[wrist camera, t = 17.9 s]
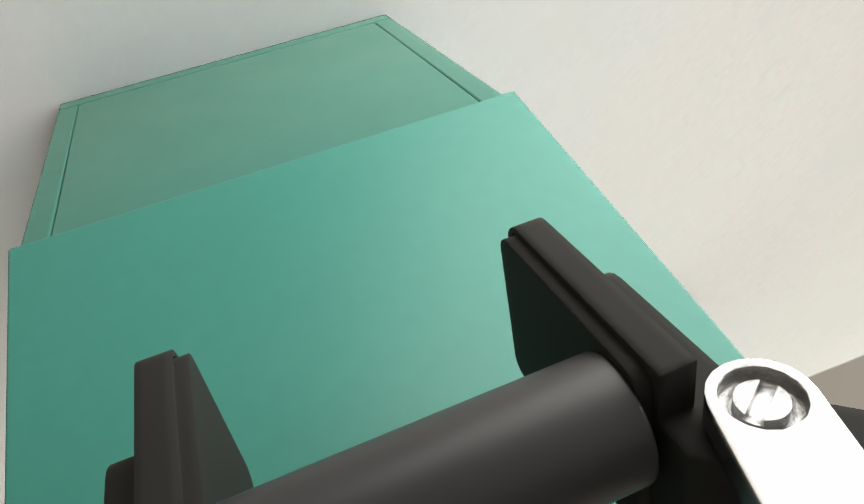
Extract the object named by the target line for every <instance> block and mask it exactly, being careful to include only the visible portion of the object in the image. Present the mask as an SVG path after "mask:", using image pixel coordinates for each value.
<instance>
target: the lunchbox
mask: <svg viewBox="0 0 864 504" xmlns="http://www.w3.org/2000/svg"><path fill="white" fill-rule="evenodd" d="M500 95H502V94H500V93H499V92H497V91H496V90H494V89H493V88H491V87H490V86H489V85H487V84H486V83H484V82H483V81H481V80H480V79H478V78H477V77H475V76H474V75H473V74H471V73H470V72H468V71H467V70H465V69H464V68H462V67H461V66H459V65H458V64H456V63H455V62H454V61H452V60H451V59H449V58H448V57H446V56H445V55H443V54H442V53H440V52H439V51H438V50H436V49H435V48H433V47H432V46H430V45H429V44H427V43H426V42H424V41H423V40H422V39H420V38H419V37H417V36H416V35H414V34H413V33H411V32H410V31H408V30H407V29H406V28H404V27H403V26H401V25H400V24H398V23H397V22H395V21H394V20H392V19H391V18H390V17H388V16H387V15H382V16H379V17H375V18H371V19H368V20H364V21H361V22H357V23H353V24H350V25H346V26H342V27H339V28H335V29H332V30H328V31H324V32H321V33H317V34H314V35H310V36H306V37H303V38H299V39H296V40H292V41H288V42H285V43H281V44H277V45H274V46H270V47H267V48H263V49H259V50H256V51H252V52H249V53H245V54H241V55H238V56H234V57H231V58H227V59H223V60H220V61H216V62H212V63H209V64H205V65H202V66H198V67H194V68H191V69H187V70H184V71H180V72H176V73H173V74H169V75H166V76H162V77H158V78H155V79H151V80H147V81H144V82H140V83H137V84H133V85H129V86H126V87H122V88H119V89H115V90H111V91H108V92H104V93H101V94H97V95H93V96H90V97H86V98H82V99H79V100H75V101H72V102H68V103H64V104H61V105H60V109H59V113H58V116H57V120H56V124H55V127H54V131H53V134H52V138H51V141H50V145H49V148H48V152H47V155H46V159H45V163H44V166H43V170H42V173H41V177H40V180H39V184H38V187H37V191H36V194H35V198H34V202H33V205H32V209H31V212H30V216H29V219H28V223H27V226H26V230H25V233H24V237H23V241H22V244H21V246H22V245H26V244H29V243H32V242H35V241H38V240H42V239H45V238H48V237H51V236H54V235H58V234H61V233H64V232H67V231H70V230H73V229H77V228H80V227H83V226H86V225H89V224H93V223H96V222H99V221H102V220H105V219H108V218H112V217H115V216H118V215H121V214H124V213H128V212H131V211H134V210H137V209H140V208H143V207H147V206H150V205H153V204H156V203H159V202H163V201H166V200H169V199H172V198H175V197H178V196H182V195H185V194H188V193H191V192H194V191H198V190H201V189H204V188H207V187H210V186H214V185H217V184H220V183H223V182H226V181H229V180H233V179H236V178H239V177H242V176H245V175H249V174H252V173H255V172H258V171H261V170H264V169H268V168H271V167H274V166H277V165H280V164H284V163H287V162H290V161H293V160H296V159H299V158H303V157H306V156H309V155H312V154H315V153H319V152H322V151H325V150H328V149H331V148H334V147H338V146H341V145H344V144H347V143H350V142H354V141H357V140H360V139H363V138H366V137H370V136H373V135H376V134H379V133H382V132H385V131H389V130H392V129H395V128H398V127H401V126H405V125H408V124H411V123H414V122H417V121H420V120H424V119H427V118H430V117H433V116H436V115H440V114H443V113H446V112H449V111H452V110H455V109H459V108H462V107H465V106H468V105H471V104H475V103H478V102H481V101H484V100H487V99H491V98H494V97H497V96H500Z"/></svg>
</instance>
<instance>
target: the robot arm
mask: <svg viewBox="0 0 864 504" xmlns="http://www.w3.org/2000/svg"><path fill="white" fill-rule="evenodd" d="M500 245H501V254H502V262H503V269H504V276H505V284H506V291H507V298H508V306H509V313H510V320H511V328H512V335H513V342H514V350H515V356H516V360H517V363H518V366H519V368H520V370H521V372H522V374H523V376H527V375H529V374H532V373H534V372H536V371H539V370H541V369H544V368H546V367H549V366H551V365H554V364H556V363H558V362H561V361H563V360H566V359H568V358H571V357H573V356H575V355H578V354H580V353H583V352H586V351H593V352H597V353H599V354H601V355H603V356H604V357H606V358H607V359H608V360H609V361H610V362H611V363H612V364H613V365H614V366H615V367H616V368H617V369H618V370H619V371H620V372H621V374H622V375H623V376H624V378H625V379H626V380H627V382H628V383H629V385H630V386H631V388H632V389H633V391H634V393H635V394H636V396H637V398H638V400H639V401H640V403H641V405H642V407H643V409H644V412H645V414H646V416H647V418H648V421H649V423H650V426H651V428H652V431H653V434H654V437H655V441H656V445H657V449H658V455H659V473H658V476H657V478H656V480H655V481H654V482H653V484H651V485H650V486H648V487H646V488H644V489H642V490H640V491H637V492H635V493H633V494H631V495H629V496H627V497H625V498H622V499H620V500H618V501H616V503H617V504H864V410H861V409H855V408H849V407H844V406H838V405H832V404H829V403H828V401H827V400H826V399H825V397H824V396H823V395H822V393H821V392H820V391H819V389H818V388H817V387H816V386H815V385H814V384H813V383H812V382H811V381H810V380H809V379H808V378H807V377H806V376H805V375H803V374H802V373H800V372H798V371H797V370H795V369H793V368H792V367H790V366H787V365H784V364H781V363H778V362H775V361H772V360H765V359H758V358H749V359H737V360H734V361H731V362H727V363H724V364H722V365H721V366H719V365H718V364H717V363H715V362H714V361H713V360H712V359H711V358H710V357H709V356H708V355H707V354H705V353H704V352H703V351H702V350H701V349H700V348H699V347H698V346H697V345H695V344H694V343H693V342H692V341H691V340H690V339H689V338H688V337H686V336H685V335H684V334H683V333H682V332H681V331H680V330H679V329H678V328H676V327H675V326H674V325H673V324H672V323H671V322H670V321H669V320H668V319H666V318H665V317H664V316H663V315H662V314H661V313H660V312H659V311H657V310H656V309H655V308H654V307H653V306H652V305H651V304H650V303H649V302H647V301H646V300H645V299H644V298H643V297H642V296H641V295H640V294H639V293H637V292H636V291H635V290H634V289H633V288H632V287H631V286H630V285H628V284H627V283H626V282H625V281H624V280H623V279H622V278H621V277H619V276H618V275H616V274H615V273H609V272H608V273H606V274H604V273H602V272H601V271H600V270H599V269H598V268H597V267H596V266H595V265H594V264H593V263H592V262H591V261H589V260H588V259H587V258H586V257H585V256H584V255H583V254H582V253H581V252H580V251H579V250H578V249H576V248H575V247H574V246H573V245H572V244H571V243H570V242H569V241H568V240H567V239H566V238H564V237H563V236H562V235H561V234H560V233H559V232H558V231H557V230H556V229H555V228H554V227H553V226H551V225H550V224H549V223H548V222H547V221H546V220H545V219H543V218H536V219H533V220H530V221H528V222H525V223H522V224H519V225H516V226H514V227H511V228H510V229H509V231H508V238H506V239H503V240H502V241H501V244H500ZM251 488H254V487H253V482H252V479H251V476H250V472H249V470H248V467H247V465H246V463H245V461H244V459H243V457H242V455H241V453H240V451H239V449H238V447H237V445H236V443H235V441H234V439H233V437H232V435H231V433H230V431H229V429H228V427H227V425H226V423H225V421H224V419H223V417H222V415H221V413H220V411H219V409H218V407H217V405H216V403H215V401H214V399H213V397H212V395H211V393H210V391H209V389H208V387H207V385H206V383H205V381H204V379H203V377H202V375H201V373H200V371H199V369H198V367H197V365H196V363H195V361H194V359H193V357H192V356H191V354H189V353H188V354H185V355H182V356H180V357H178V355H177V353H176V352H175V351H174V350H172V349H171V350H168V351H165V352H163V353H160V354H157V355H154V356H152V357H149V358H146V359H143V360H140V361H138V362H136V363H135V365H134V456H132V457H129V458H127V459H124V460H122V461H119V462H116V463H114V464H111V465H109V467H108V469H107V470H106V476H105V490H104V504H216V503H217V502H219V501H222V500H224V499H227V498H229V497H232V496H234V495H237V494H239V493H241V492H244V491H246V490H249V489H251Z"/></svg>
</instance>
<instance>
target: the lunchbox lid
mask: <svg viewBox="0 0 864 504" xmlns="http://www.w3.org/2000/svg"><path fill="white" fill-rule="evenodd" d="M536 218H543V219H545V220H546V221H547V222H548V223H549V224H550V225H551V226H553V227H554V228H555V229H556V230H557V231H558V232H559V233H560V234H561V235H562V236H563V237H564V238H566V239H567V240H568V241H569V242H570V243H571V244H572V245H573V246H574V247H575V248H576V249H578V250H579V251H580V252H581V253H582V254H583V255H584V256H585V257H586V258H587V259H588V260H589V261H591V262H592V263H593V264H594V265H595V266H596V267H597V268H598V269H599V270H600V271H601V272H602V273H604V274H606V273H608V272H609V273H615V274H616V275H618V276H619V277H621V278H622V279H623V280H624V281H625V282H626V283H627V284H628V285H630V286H631V287H632V288H633V289H634V290H635V291H636V292H637V293H639V294H640V295H641V296H642V297H643V298H644V299H645V300H646V301H647V302H649V303H650V304H651V305H652V306H653V307H654V308H655V309H656V310H657V311H659V312H660V313H661V314H662V315H663V316H664V317H665V318H666V319H668V320H669V321H670V322H671V323H672V324H673V325H674V326H675V327H676V328H678V329H679V330H680V331H681V332H682V333H683V334H684V335H685V336H686V337H688V338H689V339H690V340H691V341H692V342H693V343H694V344H695V345H697V346H698V347H699V348H700V349H701V350H702V351H703V352H704V353H705V354H707V355H708V356H709V357H710V358H711V359H712V360H713V361H714V362H715V363H717V364H718V365H719V366H721V365H722V364H724V363H727V362H731V361H734V360H737V359H745V358H744V357H743V356H742V355H741V353H740V352H739V351H738V350H737V349H736V348H735V346H734V345H733V344H732V343H731V342H730V341H729V340H728V338H727V337H726V336H725V335H724V334H723V333H722V331H721V330H720V329H719V328H718V327H717V326H716V325H715V323H714V322H713V321H712V320H711V319H710V318H709V316H708V315H707V314H706V313H705V312H704V311H703V310H702V308H701V307H700V306H699V305H698V304H697V303H696V301H695V300H694V299H693V298H692V297H691V296H690V294H689V293H688V292H687V291H686V290H685V289H684V288H683V286H682V285H681V284H680V283H679V282H678V281H677V279H676V278H675V277H674V276H673V275H672V274H671V273H670V271H669V270H668V269H667V268H666V267H665V266H664V264H663V263H662V262H661V261H660V260H659V259H658V258H657V256H656V255H655V254H654V253H653V252H652V251H651V249H650V248H649V247H648V246H647V245H646V244H645V243H644V241H643V240H642V239H641V238H640V237H639V236H638V234H637V233H636V232H635V231H634V230H633V229H632V228H631V226H630V225H629V224H628V223H627V222H626V221H625V219H624V218H623V217H622V216H621V215H620V214H619V213H618V211H617V210H616V209H615V208H614V207H613V206H612V204H611V203H610V202H609V201H608V200H607V199H606V197H605V196H604V195H603V194H602V193H601V192H600V191H599V189H598V188H597V187H596V186H595V185H594V184H593V182H592V181H591V180H590V179H589V178H588V177H587V176H586V174H585V173H584V172H583V171H582V170H581V169H580V167H579V166H578V165H577V164H576V163H575V162H574V161H573V159H572V158H571V157H570V156H569V155H568V154H567V152H566V151H565V150H564V149H563V148H562V147H561V146H560V144H559V143H558V142H557V141H556V140H555V139H554V137H553V136H552V135H551V134H550V133H549V132H548V131H547V129H546V128H545V127H544V126H543V125H542V124H541V122H540V121H539V120H538V119H537V118H536V117H535V115H534V114H533V113H532V112H531V111H530V110H529V109H528V107H527V106H526V105H525V104H524V103H523V102H522V100H521V99H520V98H519V97H518V96H517V95H516V94H515V92H510V93H506V94H503V95H500V96H497V97H494V98H491V99H487V100H484V101H481V102H478V103H475V104H471V105H468V106H465V107H462V108H459V109H455V110H452V111H449V112H446V113H443V114H440V115H436V116H433V117H430V118H427V119H424V120H420V121H417V122H414V123H411V124H408V125H405V126H401V127H398V128H395V129H392V130H389V131H385V132H382V133H379V134H376V135H373V136H370V137H366V138H363V139H360V140H357V141H354V142H350V143H347V144H344V145H341V146H338V147H334V148H331V149H328V150H325V151H322V152H319V153H315V154H312V155H309V156H306V157H303V158H299V159H296V160H293V161H290V162H287V163H284V164H280V165H277V166H274V167H271V168H268V169H264V170H261V171H258V172H255V173H252V174H249V175H245V176H242V177H239V178H236V179H233V180H229V181H226V182H223V183H220V184H217V185H214V186H210V187H207V188H204V189H201V190H198V191H194V192H191V193H188V194H185V195H182V196H178V197H175V198H172V199H169V200H166V201H163V202H159V203H156V204H153V205H150V206H147V207H143V208H140V209H137V210H134V211H131V212H128V213H124V214H121V215H118V216H115V217H112V218H108V219H105V220H102V221H99V222H96V223H93V224H89V225H86V226H83V227H80V228H77V229H73V230H70V231H67V232H64V233H61V234H58V235H54V236H51V237H48V238H45V239H42V240H38V241H35V242H32V243H29V244H26V245H22V246H19V247H16V248H13V249H10V250H9V257H8V323H7V388H6V453H5V504H104V490H105V476H106V470H107V469H108V467H109V465H111V464H114V463H116V462H119V461H122V460H124V459H127V458H129V457H132V456H134V365H135V363H136V362H138V361H140V360H143V359H146V358H149V357H152V356H154V355H157V354H160V353H163V352H165V351H168V350H171V349H172V350H174V351H175V352H176V353H177V355H178V357H180V356H182V355H185V354H188V353H189V354H191V356H192V357H193V359H194V361H195V363H196V365H197V367H198V369H199V371H200V373H201V375H202V377H203V379H204V381H205V383H206V385H207V387H208V389H209V391H210V393H211V395H212V397H213V399H214V401H215V403H216V405H217V407H218V409H219V411H220V413H221V415H222V417H223V419H224V421H225V423H226V425H227V427H228V429H229V431H230V433H231V435H232V437H233V439H234V441H235V443H236V445H237V447H238V449H239V451H240V453H241V455H242V457H243V459H244V461H245V463H246V465H247V467H248V470H249V472H250V476H251V479H252V482H253V487H254V488H251V489H249V490H246V491H244V492H241V493H239V494H237V495H234V496H232V497H229V498H227V499H224V500H222V501H219V502H217V503H216V504H617V503H616V501H618V500H620V499H622V498H625V497H627V496H629V495H631V494H633V493H635V492H637V491H640V490H642V489H644V488H646V487H648V486H650V485H651V484H653V482H654V481H655V480H656V478H657V476H658V473H659V455H658V449H657V445H656V441H655V437H654V434H653V431H652V428H651V426H650V423H649V421H648V418H647V416H646V414H645V412H644V409H643V407H642V405H641V403H640V401H639V400H638V398H637V396H636V394H635V393H634V391H633V389H632V388H631V386H630V385H629V383H628V382H627V380H626V379H625V378H624V376H623V375H622V374H621V372H620V371H619V370H618V369H617V368H616V367H615V366H614V365H613V364H612V363H611V362H610V361H609V360H608V359H607V358H606V357H604V356H603V355H601V354H599V353H597V352H593V351H586V352H583V353H580V354H578V355H575V356H573V357H571V358H568V359H566V360H563V361H561V362H558V363H556V364H554V365H551V366H549V367H546V368H544V369H541V370H539V371H536V372H534V373H532V374H529V375H527V376H523V374H522V372H521V370H520V368H519V366H518V363H517V360H516V356H515V350H514V342H513V335H512V328H511V320H510V313H509V306H508V298H507V291H506V284H505V276H504V269H503V262H502V254H501V245H500V244H501V241H502V240H503V239H506V238H508V231H509V229H510V228H511V227H514V226H516V225H519V224H522V223H525V222H528V221H530V220H533V219H536Z"/></svg>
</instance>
